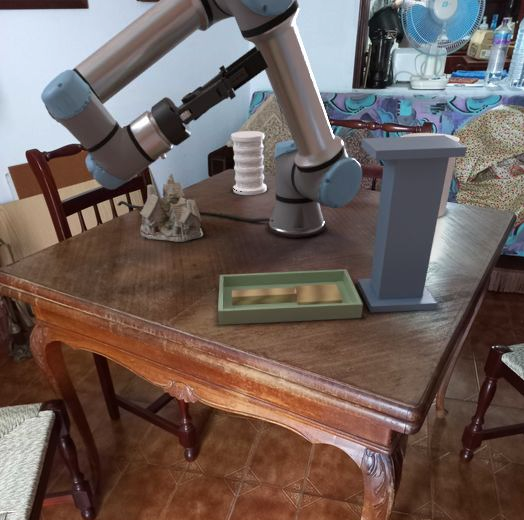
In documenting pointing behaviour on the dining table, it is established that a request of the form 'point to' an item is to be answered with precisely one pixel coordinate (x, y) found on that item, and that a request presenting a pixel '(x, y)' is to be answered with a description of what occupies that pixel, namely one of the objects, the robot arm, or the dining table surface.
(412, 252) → the stand
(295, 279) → the tray
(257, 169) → the decorative container
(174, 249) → the dining table surface
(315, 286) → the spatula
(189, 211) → the ceramic cottage
